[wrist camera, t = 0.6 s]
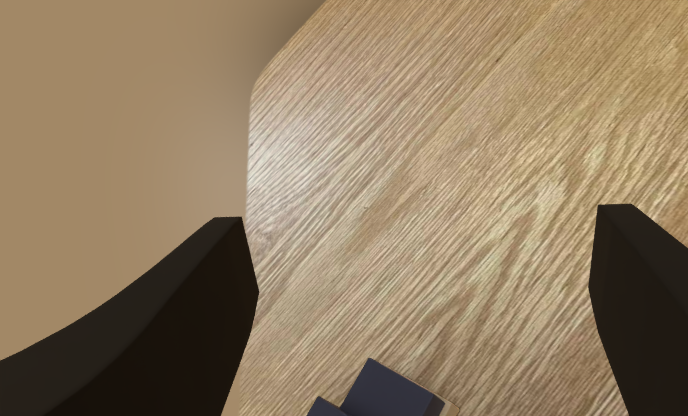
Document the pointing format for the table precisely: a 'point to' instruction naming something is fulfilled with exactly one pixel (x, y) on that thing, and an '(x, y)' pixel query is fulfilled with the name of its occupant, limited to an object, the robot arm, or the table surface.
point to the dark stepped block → (385, 397)
